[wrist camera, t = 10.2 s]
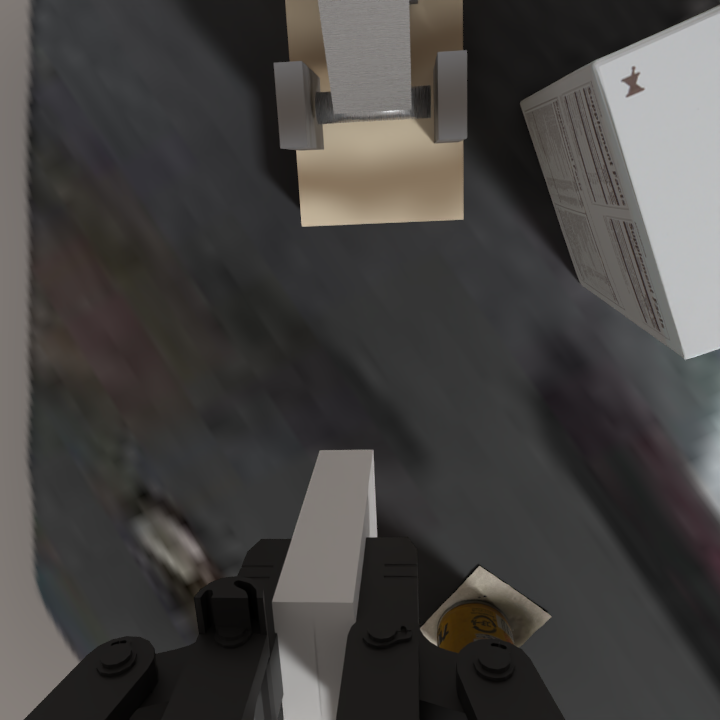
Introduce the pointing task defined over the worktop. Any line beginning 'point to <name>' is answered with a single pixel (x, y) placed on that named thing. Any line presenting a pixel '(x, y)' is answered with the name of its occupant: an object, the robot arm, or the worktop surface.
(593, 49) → the worktop surface
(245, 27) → the worktop surface
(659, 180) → the supplement box
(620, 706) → the worktop surface
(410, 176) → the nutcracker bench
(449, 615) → the condiment
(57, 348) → the worktop surface
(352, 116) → the lever
